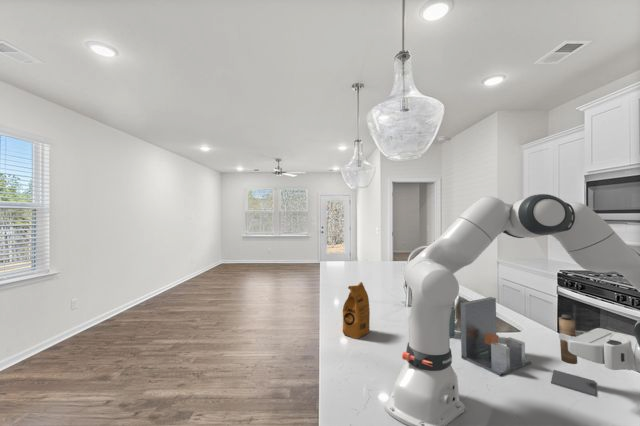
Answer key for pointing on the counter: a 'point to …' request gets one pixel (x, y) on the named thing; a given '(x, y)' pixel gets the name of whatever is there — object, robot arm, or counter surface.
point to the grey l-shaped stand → (474, 326)
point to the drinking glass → (452, 322)
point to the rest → (573, 382)
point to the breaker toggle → (490, 340)
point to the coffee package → (356, 312)
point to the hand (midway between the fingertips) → (564, 333)
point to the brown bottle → (569, 328)
